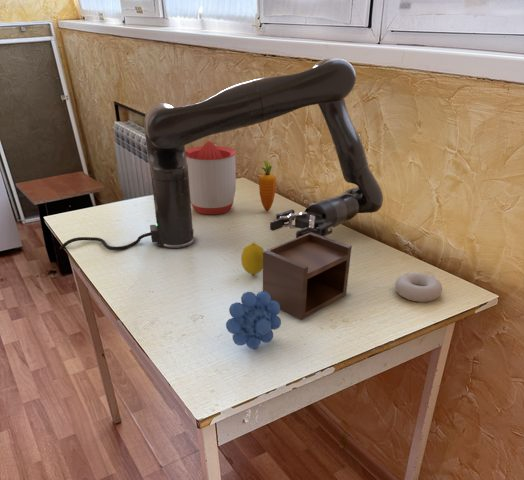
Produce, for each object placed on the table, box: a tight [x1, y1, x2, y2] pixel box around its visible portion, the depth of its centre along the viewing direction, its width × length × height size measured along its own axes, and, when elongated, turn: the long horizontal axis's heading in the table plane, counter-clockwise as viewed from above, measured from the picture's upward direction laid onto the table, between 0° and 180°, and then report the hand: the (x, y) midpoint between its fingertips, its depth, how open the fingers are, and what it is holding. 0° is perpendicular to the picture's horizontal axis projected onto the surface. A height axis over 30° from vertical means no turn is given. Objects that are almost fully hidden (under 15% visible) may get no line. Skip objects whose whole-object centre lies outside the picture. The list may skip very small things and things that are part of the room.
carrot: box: [258, 159, 277, 213], centre depth 148 cm, size 5×5×15 cm
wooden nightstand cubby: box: [262, 232, 352, 321], centre depth 104 cm, size 15×11×12 cm
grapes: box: [225, 290, 282, 350], centre depth 88 cm, size 12×7×12 cm, turn 125°
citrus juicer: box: [185, 140, 237, 215], centre depth 148 cm, size 16×17×20 cm
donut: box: [394, 272, 443, 303], centre depth 109 cm, size 10×4×10 cm
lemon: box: [240, 242, 264, 276], centre depth 115 cm, size 6×6×8 cm
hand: (283, 231), depth 118 cm, fingers open, 8 cm apart
